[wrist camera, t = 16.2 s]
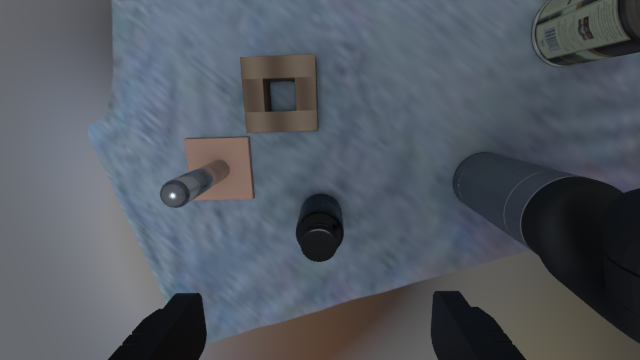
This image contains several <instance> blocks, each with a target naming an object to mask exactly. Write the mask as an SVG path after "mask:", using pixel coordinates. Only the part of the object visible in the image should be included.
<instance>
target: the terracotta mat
mask: <svg viewBox="0 0 640 360" xmlns="http://www.w3.org/2000/svg"><path fill="white" fill-rule="evenodd" d="M184 141H185V148H186V156H187V163H188V170H189V172H191V171H193V170H195V169H197V168H200V167H202V166H204V165H206V164H209V163H211V162H213V161H216V160H223V161H225V162H226V163H227V164H228V166H229V168H230V173H229V175H228V177H226V178H225V179H224V180H222V181H220V182H219V183H217V184H216V185H214V186H213V187H211V188H210V189H208V190H207V191H205V192H204V193H202V194H201V195H199V196H198V197H196V198H195V199H193V200H239V199H254V186H253V174H252V162H251V151H250V139H249V137H231V138H196V139H184Z"/></svg>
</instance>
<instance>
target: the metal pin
mask: <svg viewBox="0 0 640 360" xmlns="http://www.w3.org/2000/svg"><path fill="white" fill-rule="evenodd" d="M229 173H230V168H229V166H228V164H227V163H226V162H225V161H223V160H216V161H213V162H211V163H209V164H206V165H204V166H202V167H200V168H197V169H195V170H193V171H191V172H188V173H186V174H184V175H181V176H179V177H177V178H175V179H172V180H170V181H168V182H166V183H165V184H164V185H163V186H162V188H161V191H160V197H161V200H162V201H163V203H164V204H166V205H167V206H169V207H173V208H178V207H182V206H184V205H185V204H187V203H189V202H190V201H192V200H193V199H195V198H196V197H198V196H199V195H201V194H202V193H204V192H205V191H207V190H208V189H210V188H211V187H213V186H214V185H216V184H217V183H219V182H220V181H222V180H224V179H225V178H226V177H228V175H229Z"/></svg>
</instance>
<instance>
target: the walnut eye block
mask: <svg viewBox="0 0 640 360" xmlns="http://www.w3.org/2000/svg"><path fill="white" fill-rule="evenodd" d="M240 63H241V75H242V86H243V98H244V109H245V120H246V132H247V133H258V132H292V131H317V130H318V100H317V68H316V57H315V54H311V55H285V56H259V57H240ZM281 81H295V92H296V111H275V112H271V97H270V82H281Z"/></svg>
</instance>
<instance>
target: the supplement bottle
mask: <svg viewBox="0 0 640 360" xmlns="http://www.w3.org/2000/svg"><path fill="white" fill-rule="evenodd" d="M343 236H344V229H343V220H342V213H341V208H340V206H339V204H338V202H337V201H336V200H335V199H333V198H332V197H330V196H328V195H323V194H319V195H314V196H312V197H310V198H308V199H307V200H306V201H305V202H304V204H303V206H302V208H301V211H300V215H299V219H298V223H297V227H296V238H297V241H298V243H299V245H300V246H301V249H302V252H303V254H304V255H305V256H306V257H307V258H308V259H310V260H313V261H317V262H322V261H326V260H329V259H330V258H331V257H332V256H334V254H335V252H336V250H337V248H338V247H339V246H340V244H341V243H342V240H343Z"/></svg>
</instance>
